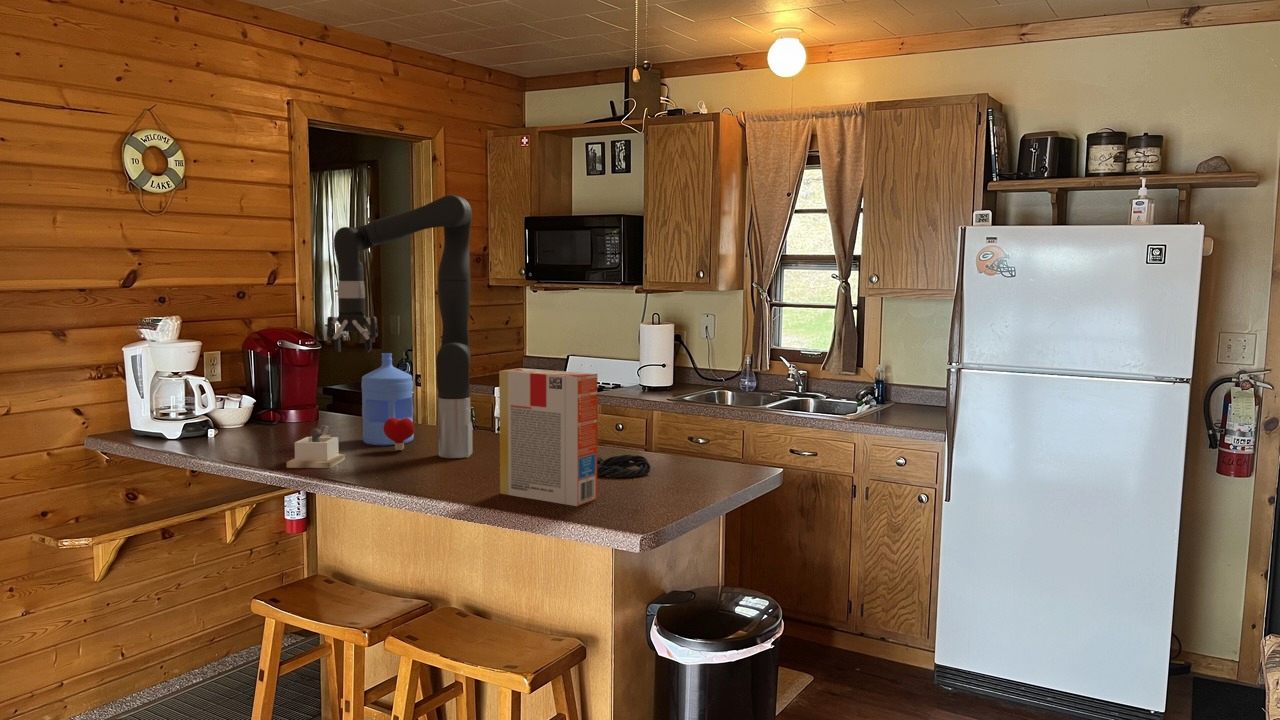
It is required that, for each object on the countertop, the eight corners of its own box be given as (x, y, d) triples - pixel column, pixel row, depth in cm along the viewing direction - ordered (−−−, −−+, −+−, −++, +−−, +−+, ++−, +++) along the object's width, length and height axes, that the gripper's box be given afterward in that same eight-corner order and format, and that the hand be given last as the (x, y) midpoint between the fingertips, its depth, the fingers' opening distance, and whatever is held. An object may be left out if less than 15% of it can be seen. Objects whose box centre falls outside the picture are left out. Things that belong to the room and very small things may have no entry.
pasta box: (597, 499, 220) (597, 373, 217) (577, 506, 213) (577, 376, 211) (520, 487, 232) (520, 368, 229) (500, 493, 225) (499, 370, 222)
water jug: (359, 439, 297) (357, 352, 295) (408, 435, 304) (407, 350, 301) (366, 447, 283) (364, 356, 281) (418, 443, 290) (417, 354, 287)
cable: (658, 472, 252) (658, 456, 252) (638, 482, 240) (638, 465, 239) (601, 466, 259) (601, 451, 259) (579, 476, 246) (579, 460, 246)
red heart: (418, 449, 280) (417, 416, 279) (410, 453, 273) (409, 420, 273) (388, 448, 281) (388, 416, 280) (380, 453, 274) (379, 419, 273)
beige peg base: (345, 459, 265) (344, 425, 264) (330, 468, 253) (329, 432, 252) (303, 458, 265) (302, 424, 264) (286, 467, 253) (285, 431, 252)
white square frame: (342, 452, 267) (342, 435, 267) (327, 460, 255) (327, 442, 254) (311, 451, 268) (311, 434, 267) (294, 460, 255) (294, 442, 255)
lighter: (310, 455, 270) (309, 428, 270) (306, 454, 271) (305, 427, 270) (329, 451, 276) (329, 424, 276) (325, 450, 277) (325, 424, 277)
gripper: (379, 296, 273) (381, 351, 274) (331, 296, 273) (333, 351, 275) (372, 297, 265) (373, 353, 267) (322, 296, 266) (324, 353, 267)
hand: (353, 352), depth 271 cm, fingers open, 8 cm apart
